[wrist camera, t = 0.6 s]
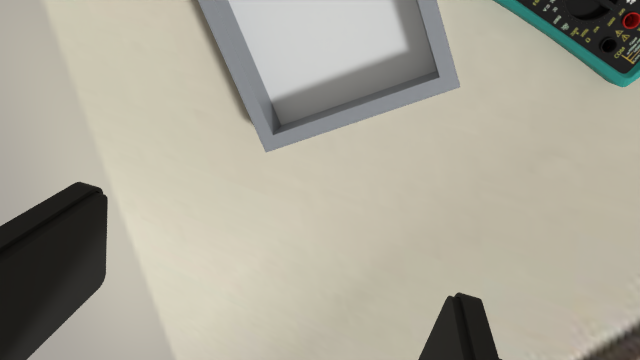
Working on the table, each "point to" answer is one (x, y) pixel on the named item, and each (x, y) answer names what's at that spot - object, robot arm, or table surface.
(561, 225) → the table surface
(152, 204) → the table surface
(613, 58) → the digital multimeter
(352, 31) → the square open box
